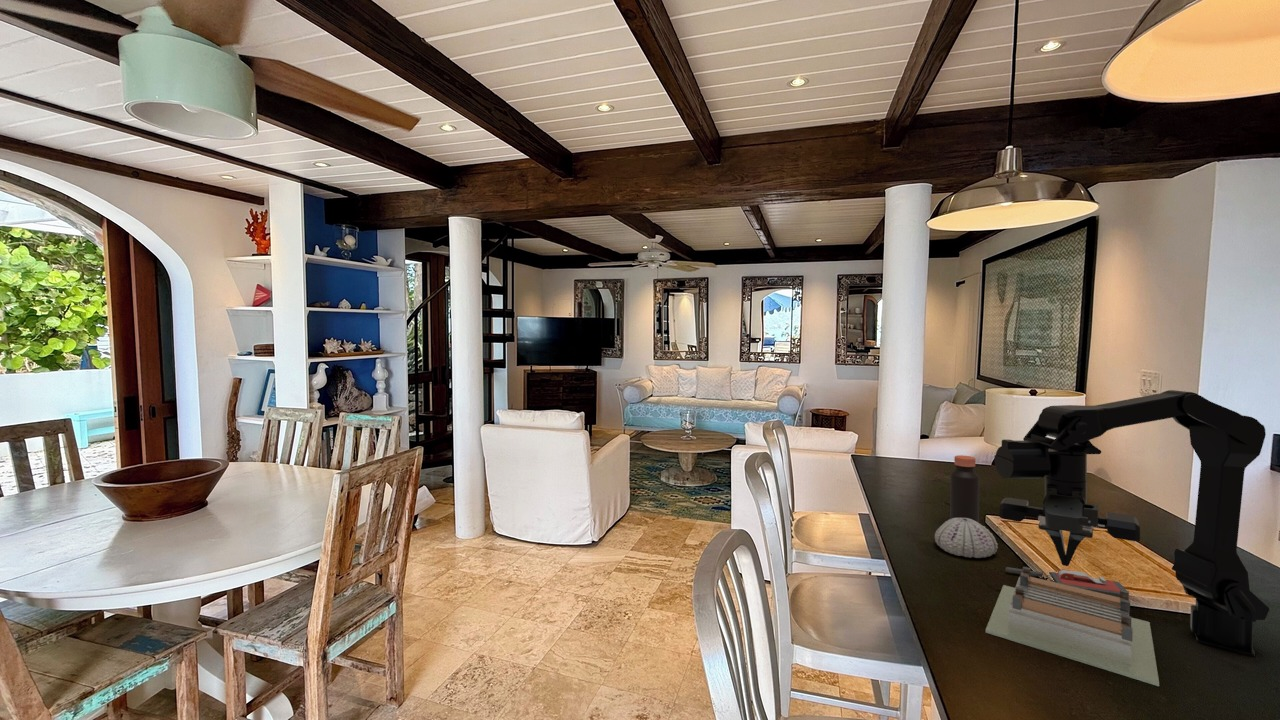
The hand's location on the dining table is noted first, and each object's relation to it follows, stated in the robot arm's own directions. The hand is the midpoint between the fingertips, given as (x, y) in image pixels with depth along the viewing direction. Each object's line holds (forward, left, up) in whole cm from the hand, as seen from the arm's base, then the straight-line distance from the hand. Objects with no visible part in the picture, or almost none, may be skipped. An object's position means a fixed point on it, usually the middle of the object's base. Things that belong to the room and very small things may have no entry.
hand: (1065, 565), depth 91 cm
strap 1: (-1, -8, -8) cm, 12 cm away
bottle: (+24, -48, -13) cm, 55 cm away
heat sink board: (0, -3, -13) cm, 13 cm away
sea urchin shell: (+21, -31, -13) cm, 39 cm away
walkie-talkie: (+1, -22, -13) cm, 26 cm away
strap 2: (-1, +3, -8) cm, 8 cm away
